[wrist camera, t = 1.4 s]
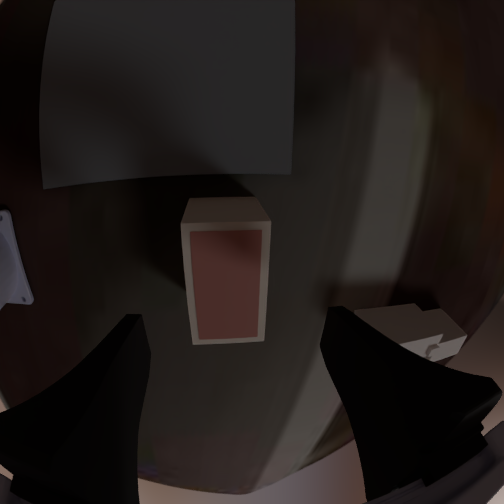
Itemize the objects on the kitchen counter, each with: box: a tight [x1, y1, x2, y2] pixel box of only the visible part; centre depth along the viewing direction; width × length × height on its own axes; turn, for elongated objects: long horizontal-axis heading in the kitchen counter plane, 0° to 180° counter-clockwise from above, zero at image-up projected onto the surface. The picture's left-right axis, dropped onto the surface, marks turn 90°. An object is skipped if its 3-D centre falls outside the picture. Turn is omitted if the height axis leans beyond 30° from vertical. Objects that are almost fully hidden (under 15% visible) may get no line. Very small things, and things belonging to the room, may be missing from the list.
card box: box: [181, 197, 271, 345], centre depth 16 cm, size 4×7×5 cm, turn 179°
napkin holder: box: [354, 303, 467, 362], centre depth 21 cm, size 15×11×6 cm
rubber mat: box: [39, 0, 295, 189], centre depth 12 cm, size 16×14×1 cm
